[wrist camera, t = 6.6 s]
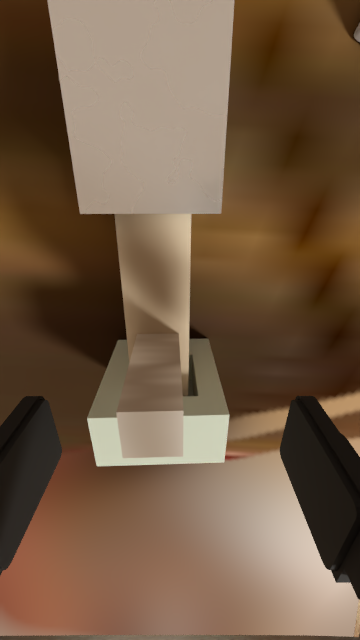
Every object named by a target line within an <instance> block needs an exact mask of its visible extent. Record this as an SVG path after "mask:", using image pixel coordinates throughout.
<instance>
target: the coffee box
mask: <svg viewBox="0 0 360 640" xmlns="http://www.w3.org/2000/svg"><path fill="white" fill-rule="evenodd" d="M354 38H355V39H356V40H357V41H359V42H360V23H359V25H358V27H357V28H356V31H355V33H354Z"/></svg>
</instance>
